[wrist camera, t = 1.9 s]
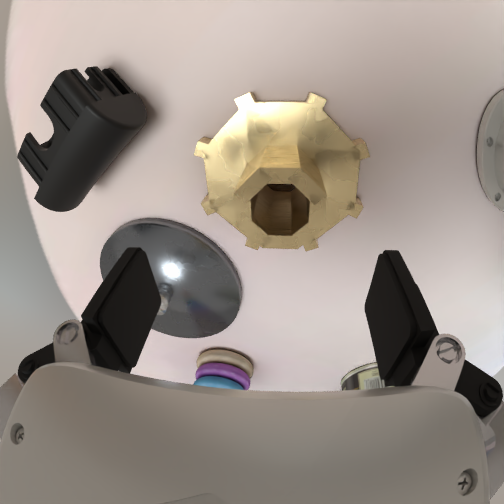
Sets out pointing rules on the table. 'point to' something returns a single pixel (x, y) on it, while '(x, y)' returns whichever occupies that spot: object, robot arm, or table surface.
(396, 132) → the table surface
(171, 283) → the plate
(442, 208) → the table surface
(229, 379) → the stacking toy
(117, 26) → the table surface
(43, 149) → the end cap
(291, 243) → the tan faceted octagonal piece
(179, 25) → the table surface
